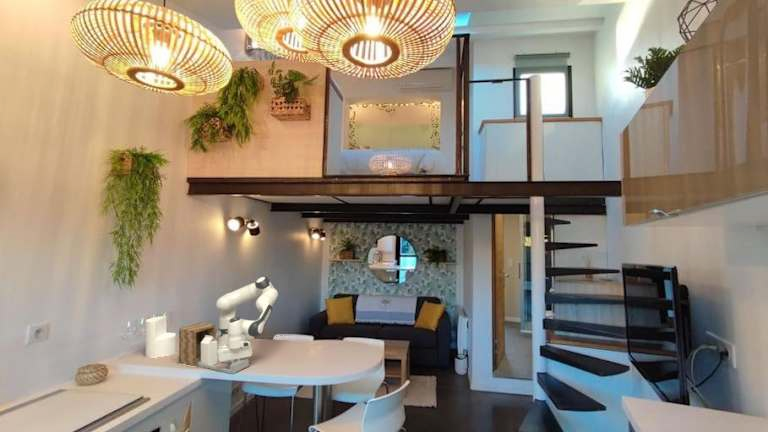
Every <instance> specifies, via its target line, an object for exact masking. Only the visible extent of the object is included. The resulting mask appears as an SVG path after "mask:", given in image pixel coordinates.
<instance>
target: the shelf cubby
mask: <svg viewBox="0 0 768 432" xmlns="http://www.w3.org/2000/svg"><path fill="white" fill-rule="evenodd" d="M205 335H208V336H213V337H214V339H215V340H216V324H213V323H205V322H198V323H195V324H194V323H193V324H191V325H188V326H185V327H184V326H183V327H181V328H179V329H178V337H179V338H178V341H179V342H178V344H179V345H178V350H179V351H178V357H179V359H178V360H179V361H178V362H179V363H181V364H186V365H190V366H196V367H197V360H198V359H201V342H202V340H203V339H204V338H205ZM197 358H198V359H197Z"/></svg>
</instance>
